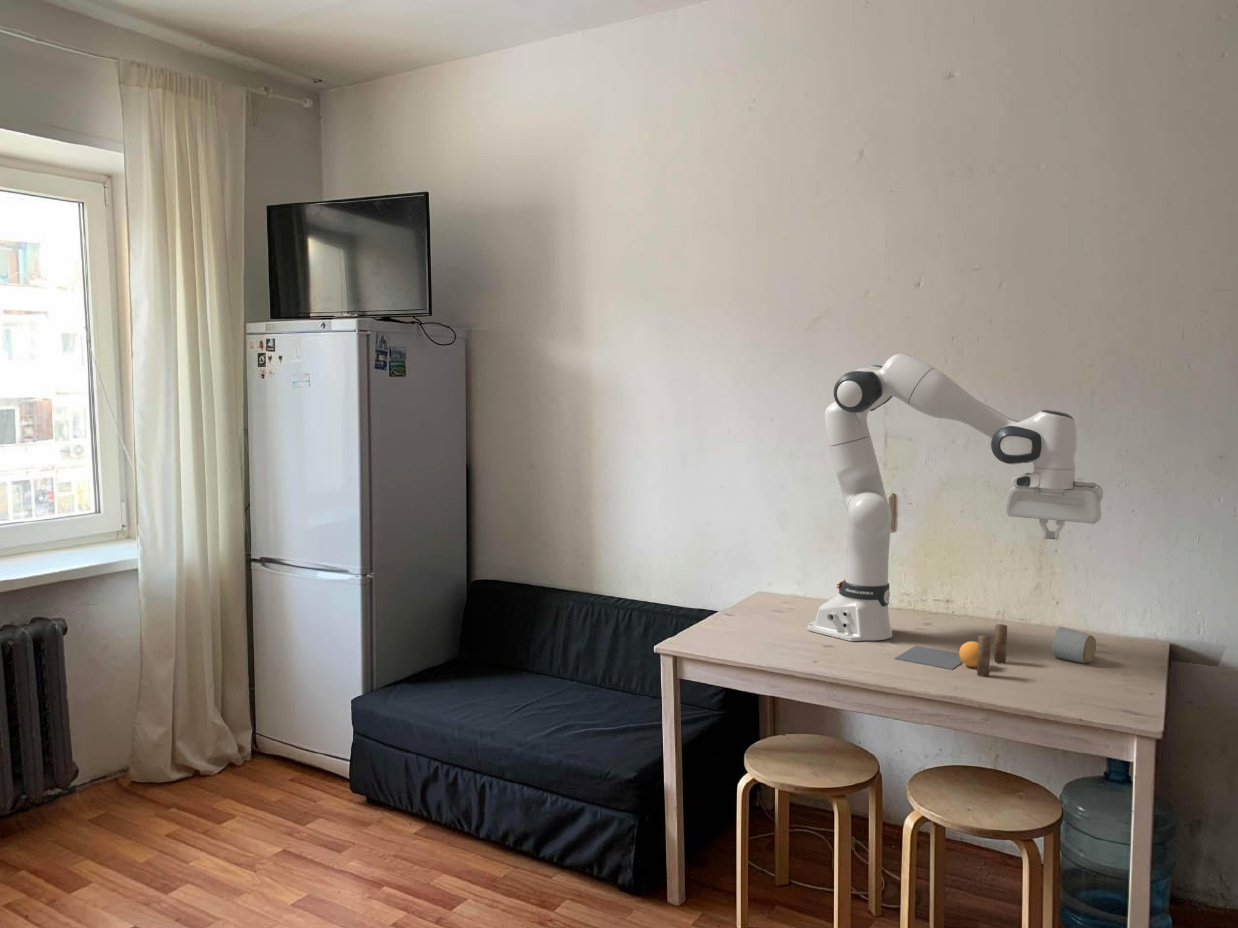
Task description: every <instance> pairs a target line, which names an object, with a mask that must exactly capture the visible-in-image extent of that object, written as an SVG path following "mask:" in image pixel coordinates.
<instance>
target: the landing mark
mask: <svg viewBox="0 0 1238 928" xmlns="http://www.w3.org/2000/svg"><path fill="white" fill-rule="evenodd" d="M894 660H899V661H903V662H910V663H915V664H921V665H925V666H931V667H934V668H935V667H936V668H940V669H947V670H954V669H955V668H957V667H958V666H959V664H960V665H961V664H962V663H963V662H962V661H961V659H960V656H959V652H954V651H948V650H941V649H937V648H930V647H925V646H921V645H920V646H919V645H914V646H912V647H911V648H909V649H907V650H906V651H904V652H903V653H901V654H899V655H898V656H896V657H894Z"/></svg>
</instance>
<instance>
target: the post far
mask: <svg viewBox="0 0 1238 928" xmlns="http://www.w3.org/2000/svg"><path fill="white" fill-rule="evenodd" d="M994 630H995V631H994V633H995V634H994V635H995V636H994V659H993V662H994V661H995V662H994V663H996V662H997V664H1000V663H1004V664H1007V642H1008V641H1007V640H1008V639H1007V637H1008V636H1007V635H1008V625H1006V624H1002V623H1001V624H1000V623H996V624H995V629H994Z"/></svg>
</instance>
